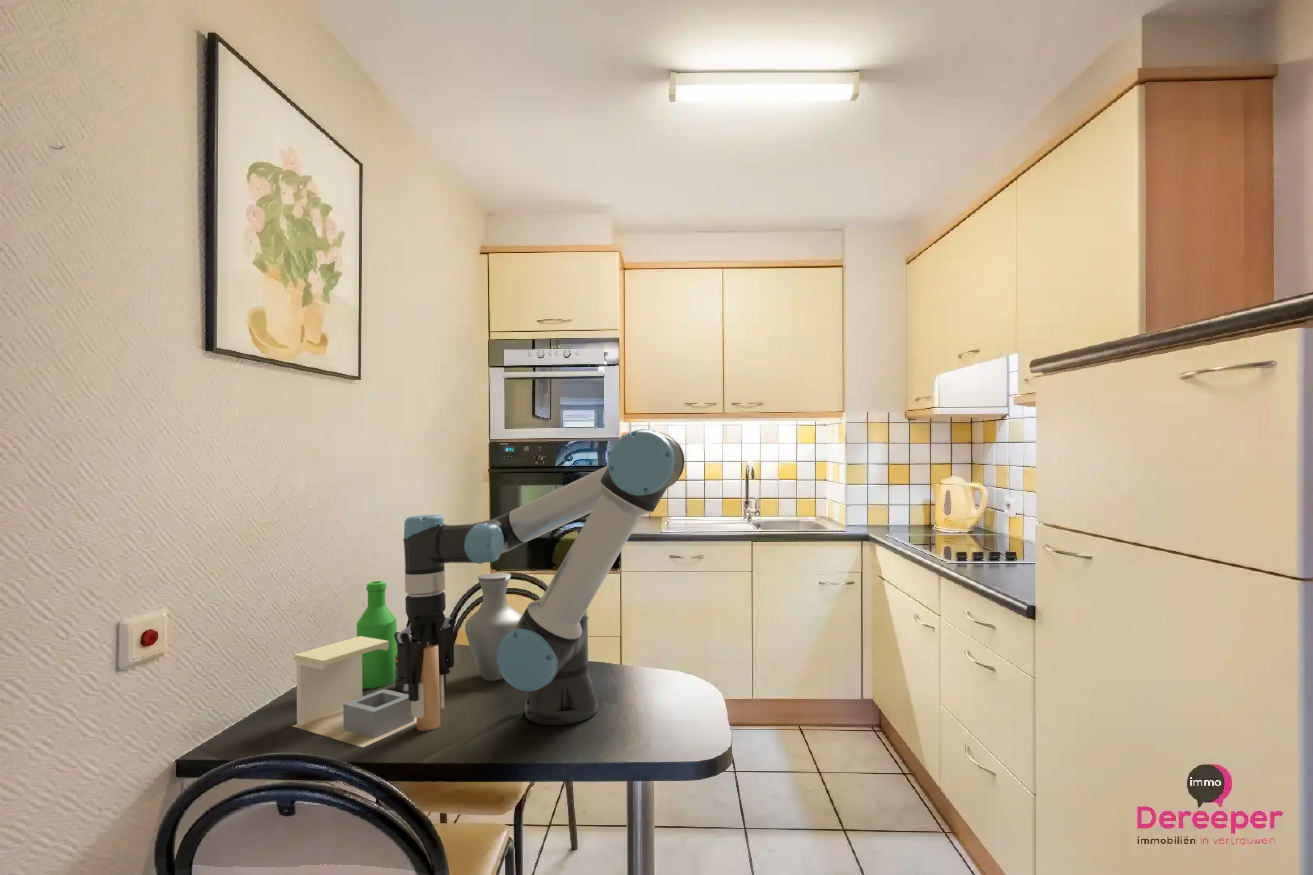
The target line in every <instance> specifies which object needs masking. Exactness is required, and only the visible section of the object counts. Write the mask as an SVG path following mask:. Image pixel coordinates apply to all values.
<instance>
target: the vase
mask: <svg viewBox="0 0 1313 875" xmlns="http://www.w3.org/2000/svg"><path fill="white" fill-rule="evenodd" d="M511 577H512V574H511V573H507V572H493V573H490V572H489V573H483V574H481V575H477V577H476V578H477V579H478V582H479V584H480V587H481V591H482V597H483V598H482V601H481V605H480V607H479V608H478V609H477V611H476V612H474V613H473V614H472V615H471V616H470V617H469V618H468V619H467V620H465V624H464V630H465V631H464V632H465V635H466V638H467V642H468V645H469V647H470V648H469V649H470V651H471V654H472V657H473V659H474V662H475V665H476V667H477V670H478V671H479V673H480V676H481V677H482V679H483V680H485V681H499V680H505V679H504V677H503V676H502V674H501V672H500V670H499V666H498V663H497V650H498V647H499V644H500V642H501V641H502V640H503V638H504V637H505V636H506V635H507V633H509V632H510V631H512V630H514V628H515V627H516V625H517V624H518V622H519V620H520V619H521V617H522V615H523V614H521V613H519V611H517V610H516V609H514V608H513V607H512V606H511V605H510V604H509V602H508V600H507V594H506V593H507V589H508V586H509V581H510V580H511Z"/></svg>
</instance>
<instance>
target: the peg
mask: <svg viewBox="0 0 1313 875" xmlns="http://www.w3.org/2000/svg"><path fill="white" fill-rule="evenodd" d="M420 682H421V683H424V717H423V718H418V717H417V723H416V729H417V730H418V731H419V732H426V731H432V730H436V729H438V728H439V727H440V726H441V709H440V691H439V652H438V645H435V644H429V643H428V642H427V646H426V647H425V649H424V657H423V663H422V670H421V677H420Z"/></svg>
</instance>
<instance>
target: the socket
mask: <svg viewBox="0 0 1313 875" xmlns="http://www.w3.org/2000/svg"><path fill="white" fill-rule="evenodd" d="M412 721H414V716H412V712H411V701H409V695H408V694H407V693H403V692H400V691H396V690H391V689H386V688H383V689H380V690H377V691H374V692H372V693H369V694H366V695H362V697H361V698H358V699H355V700H353V701H350V702H347V703H345V704H343V723H344V730H346V731H349V732H353V733H356V734H360V735H363V736H367V737H370V738H374V739H375V738H377V737H379V736H381V735H383V734H386V733H388V732H390V731H392V730H395V729H397V728H399V727H401V726H404V725H406V724H408V723H410V722H412Z"/></svg>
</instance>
